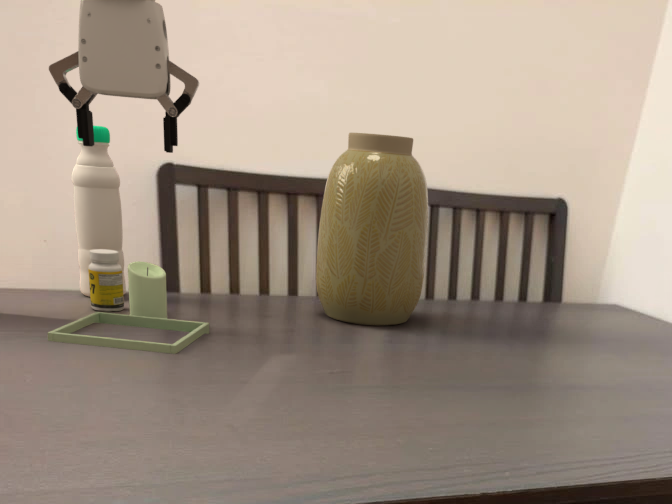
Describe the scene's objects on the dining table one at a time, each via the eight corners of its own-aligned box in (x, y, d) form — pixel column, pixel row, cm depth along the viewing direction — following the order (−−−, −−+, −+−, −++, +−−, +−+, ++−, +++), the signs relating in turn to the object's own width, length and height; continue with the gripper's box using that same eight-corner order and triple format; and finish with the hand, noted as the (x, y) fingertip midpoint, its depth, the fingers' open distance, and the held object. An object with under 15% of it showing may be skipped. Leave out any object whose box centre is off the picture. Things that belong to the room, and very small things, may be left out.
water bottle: (81, 290, 121) (68, 123, 111) (125, 291, 123) (117, 127, 113) (79, 298, 115) (66, 122, 105) (126, 299, 117) (117, 127, 107)
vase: (294, 316, 115) (301, 127, 104) (343, 302, 129) (354, 135, 118) (393, 334, 109) (412, 135, 98) (434, 317, 123) (454, 142, 112)
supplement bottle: (90, 305, 111) (86, 248, 107) (123, 305, 112) (119, 249, 109) (91, 312, 107) (87, 252, 103) (125, 312, 108) (122, 253, 105)
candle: (174, 326, 103) (172, 266, 99) (141, 329, 99) (139, 267, 96) (155, 319, 106) (153, 260, 102) (123, 322, 102) (120, 261, 99)
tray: (49, 353, 85) (46, 332, 84) (97, 330, 97) (96, 311, 96) (176, 367, 84) (175, 345, 83) (209, 341, 96) (209, 322, 95)
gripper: (200, 0, 88) (202, 154, 95) (51, -16, 86) (64, 143, 93) (194, -12, 81) (197, 155, 88) (32, -30, 79) (48, 143, 86)
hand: (129, 149), depth 91 cm, fingers open, 9 cm apart
